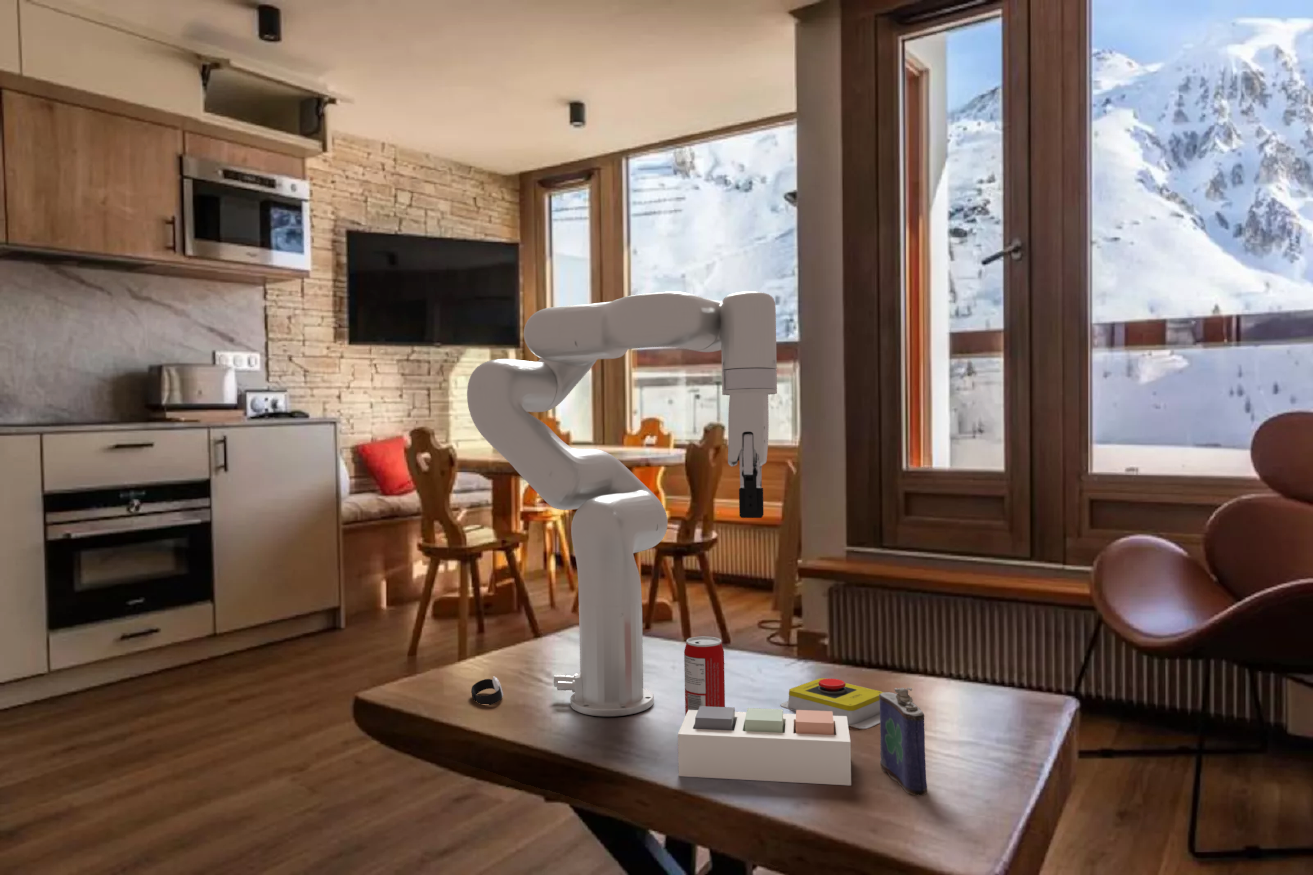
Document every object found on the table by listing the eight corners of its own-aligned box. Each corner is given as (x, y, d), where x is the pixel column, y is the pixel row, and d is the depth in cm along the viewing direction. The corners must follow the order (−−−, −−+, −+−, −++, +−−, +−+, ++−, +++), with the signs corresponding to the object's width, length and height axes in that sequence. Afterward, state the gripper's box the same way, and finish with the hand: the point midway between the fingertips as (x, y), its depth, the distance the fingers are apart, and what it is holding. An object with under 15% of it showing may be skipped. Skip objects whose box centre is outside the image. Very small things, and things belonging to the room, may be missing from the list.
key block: (678, 776, 101) (677, 734, 101) (688, 748, 109) (688, 709, 109) (851, 785, 97) (850, 741, 97) (847, 756, 106) (846, 716, 106)
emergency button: (814, 667, 133) (900, 687, 122) (815, 695, 133) (900, 717, 122) (777, 679, 126) (864, 701, 115) (777, 709, 126) (864, 734, 115)
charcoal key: (695, 750, 103) (695, 717, 103) (700, 737, 107) (699, 706, 107) (732, 752, 102) (731, 719, 102) (735, 739, 106) (734, 707, 106)
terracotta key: (796, 755, 100) (795, 721, 100) (796, 742, 105) (796, 709, 105) (834, 757, 100) (833, 723, 100) (832, 743, 104) (832, 711, 104)
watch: (509, 705, 129) (508, 681, 129) (478, 710, 127) (478, 686, 127) (495, 692, 136) (494, 669, 136) (466, 696, 134) (465, 673, 134)
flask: (876, 765, 103) (875, 677, 103) (899, 763, 103) (898, 675, 103) (909, 797, 94) (908, 700, 94) (934, 795, 94) (933, 699, 94)
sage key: (745, 753, 101) (744, 719, 101) (747, 740, 106) (747, 707, 106) (782, 754, 101) (782, 721, 101) (783, 741, 105) (783, 709, 105)
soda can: (727, 718, 121) (725, 634, 121) (722, 732, 115) (720, 644, 115) (689, 716, 122) (687, 633, 122) (682, 729, 117) (680, 642, 116)
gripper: (727, 387, 124) (729, 512, 124) (716, 381, 110) (718, 522, 110) (778, 386, 123) (780, 512, 123) (774, 379, 108) (777, 523, 108)
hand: (751, 517), depth 116 cm, fingers closed
